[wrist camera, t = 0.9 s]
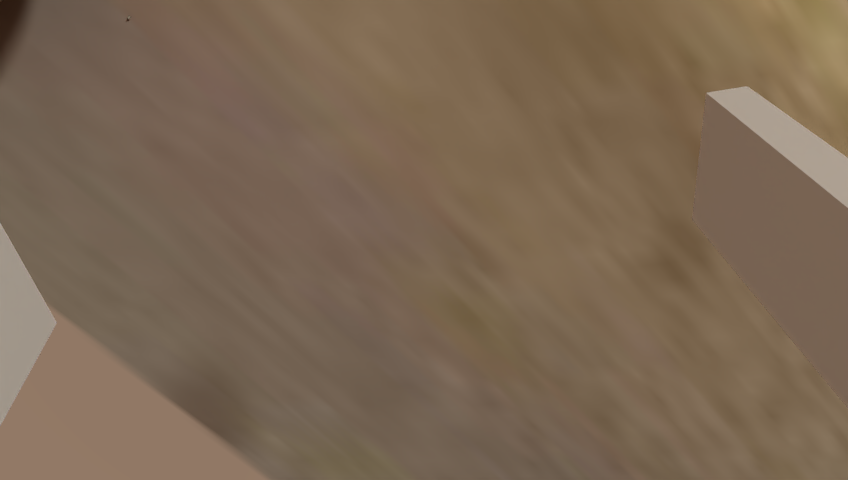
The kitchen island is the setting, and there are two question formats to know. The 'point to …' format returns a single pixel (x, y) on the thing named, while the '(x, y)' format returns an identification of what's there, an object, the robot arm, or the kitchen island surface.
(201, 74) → the kitchen island surface
